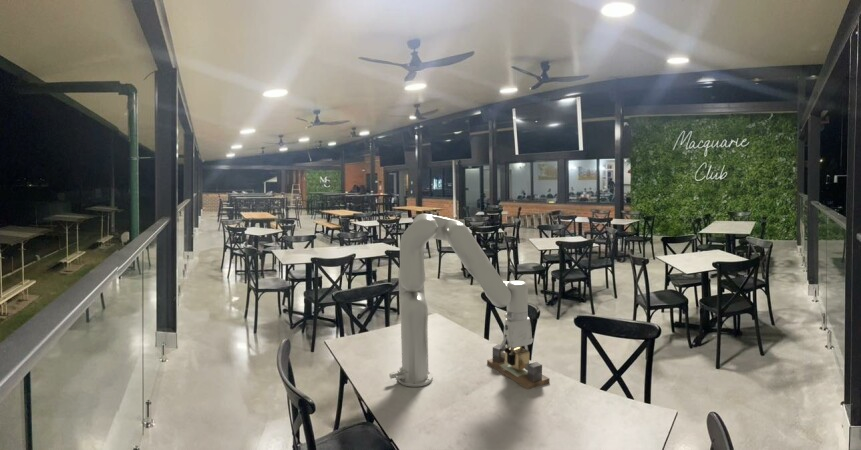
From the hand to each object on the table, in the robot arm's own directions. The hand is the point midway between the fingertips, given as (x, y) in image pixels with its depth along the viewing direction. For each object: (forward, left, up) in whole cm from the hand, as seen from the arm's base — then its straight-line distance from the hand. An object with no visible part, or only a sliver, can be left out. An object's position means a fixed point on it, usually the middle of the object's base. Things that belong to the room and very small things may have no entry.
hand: (516, 362), depth 174 cm
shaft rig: (0, 0, -4) cm, 4 cm away
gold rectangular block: (0, 0, -1) cm, 1 cm away
